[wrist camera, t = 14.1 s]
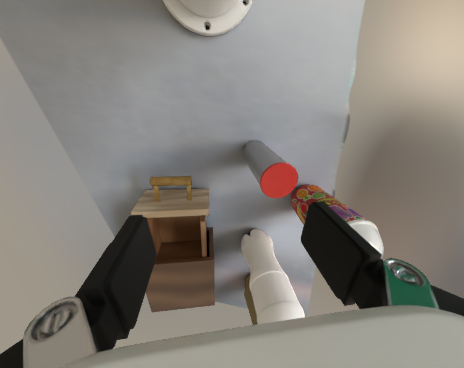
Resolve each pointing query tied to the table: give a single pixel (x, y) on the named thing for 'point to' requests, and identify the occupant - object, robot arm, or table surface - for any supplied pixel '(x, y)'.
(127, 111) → the table surface
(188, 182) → the drawer
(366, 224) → the smoothie
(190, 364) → the robot arm
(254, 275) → the water bottle
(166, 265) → the cabinet
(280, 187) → the spice tin
